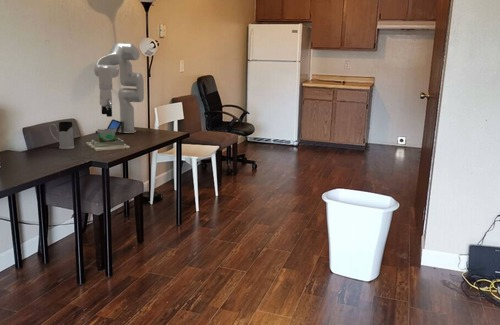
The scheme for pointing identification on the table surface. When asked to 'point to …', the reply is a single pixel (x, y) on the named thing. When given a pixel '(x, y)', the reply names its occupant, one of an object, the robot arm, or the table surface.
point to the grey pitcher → (65, 135)
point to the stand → (107, 145)
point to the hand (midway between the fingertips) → (106, 115)
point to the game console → (114, 125)
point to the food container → (106, 135)
